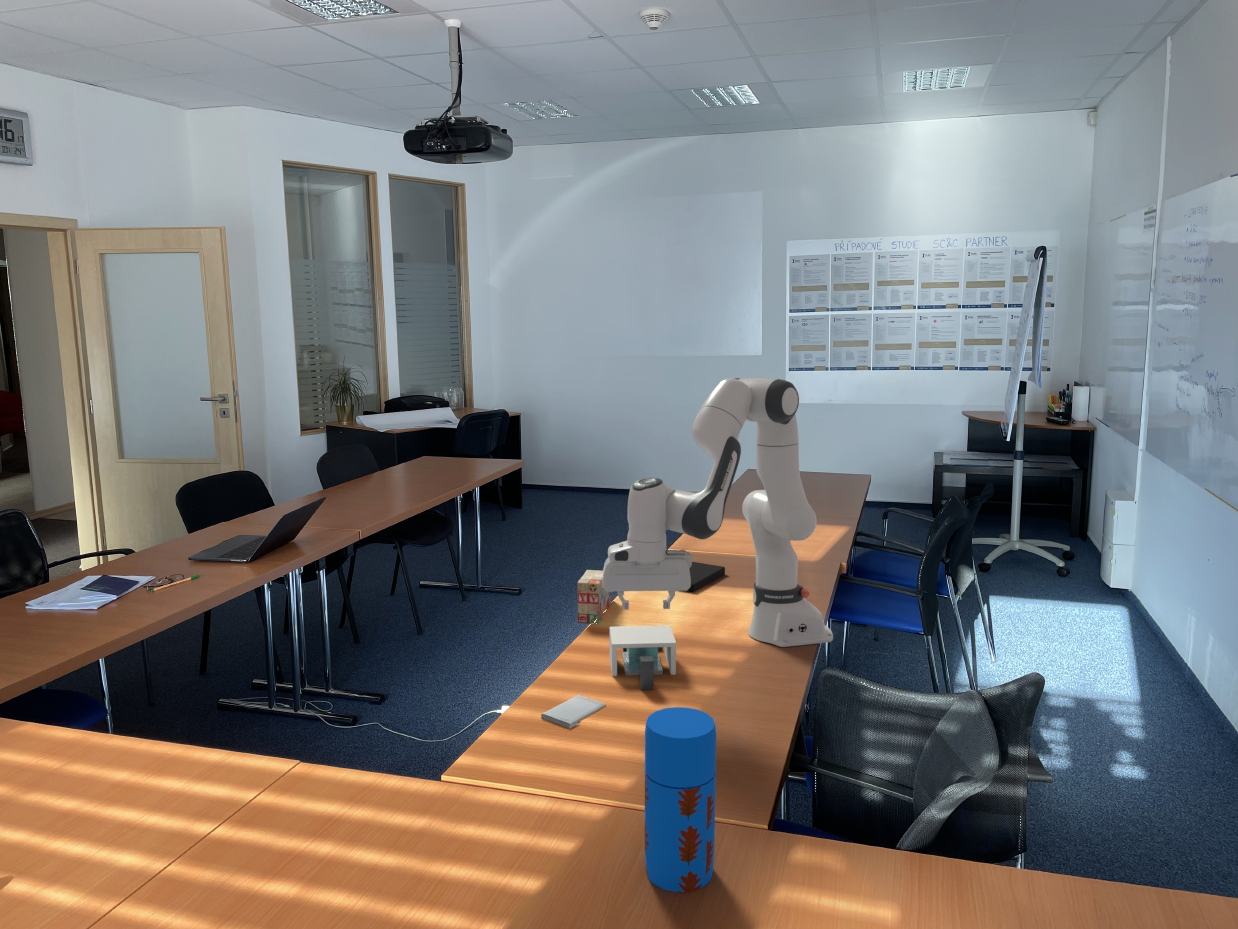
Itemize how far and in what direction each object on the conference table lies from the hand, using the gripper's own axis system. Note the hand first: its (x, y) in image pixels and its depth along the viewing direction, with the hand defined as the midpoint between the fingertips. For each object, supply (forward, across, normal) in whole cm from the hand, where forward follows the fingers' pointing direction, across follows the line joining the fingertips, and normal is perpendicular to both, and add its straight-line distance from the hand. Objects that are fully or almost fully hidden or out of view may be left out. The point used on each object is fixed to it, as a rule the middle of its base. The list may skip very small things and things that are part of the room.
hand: (646, 608), depth 202 cm
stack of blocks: (+20, +10, -55) cm, 60 cm away
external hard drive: (+20, -22, -84) cm, 89 cm away
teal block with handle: (+19, 0, -9) cm, 21 cm away
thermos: (+20, 0, +68) cm, 71 cm away
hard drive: (+20, +17, +11) cm, 29 cm away
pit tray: (+20, -1, -24) cm, 31 cm away
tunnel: (+20, 0, -13) cm, 23 cm away
